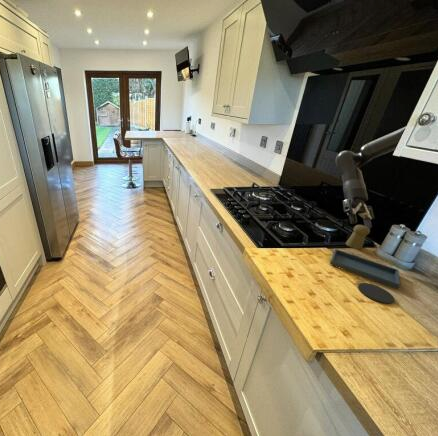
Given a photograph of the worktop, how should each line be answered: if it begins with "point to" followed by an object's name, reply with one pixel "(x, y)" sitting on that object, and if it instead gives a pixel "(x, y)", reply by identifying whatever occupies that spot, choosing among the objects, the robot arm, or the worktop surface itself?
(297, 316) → the worktop surface
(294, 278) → the worktop surface
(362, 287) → the coaster
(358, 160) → the robot arm
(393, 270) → the tray
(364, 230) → the cork
